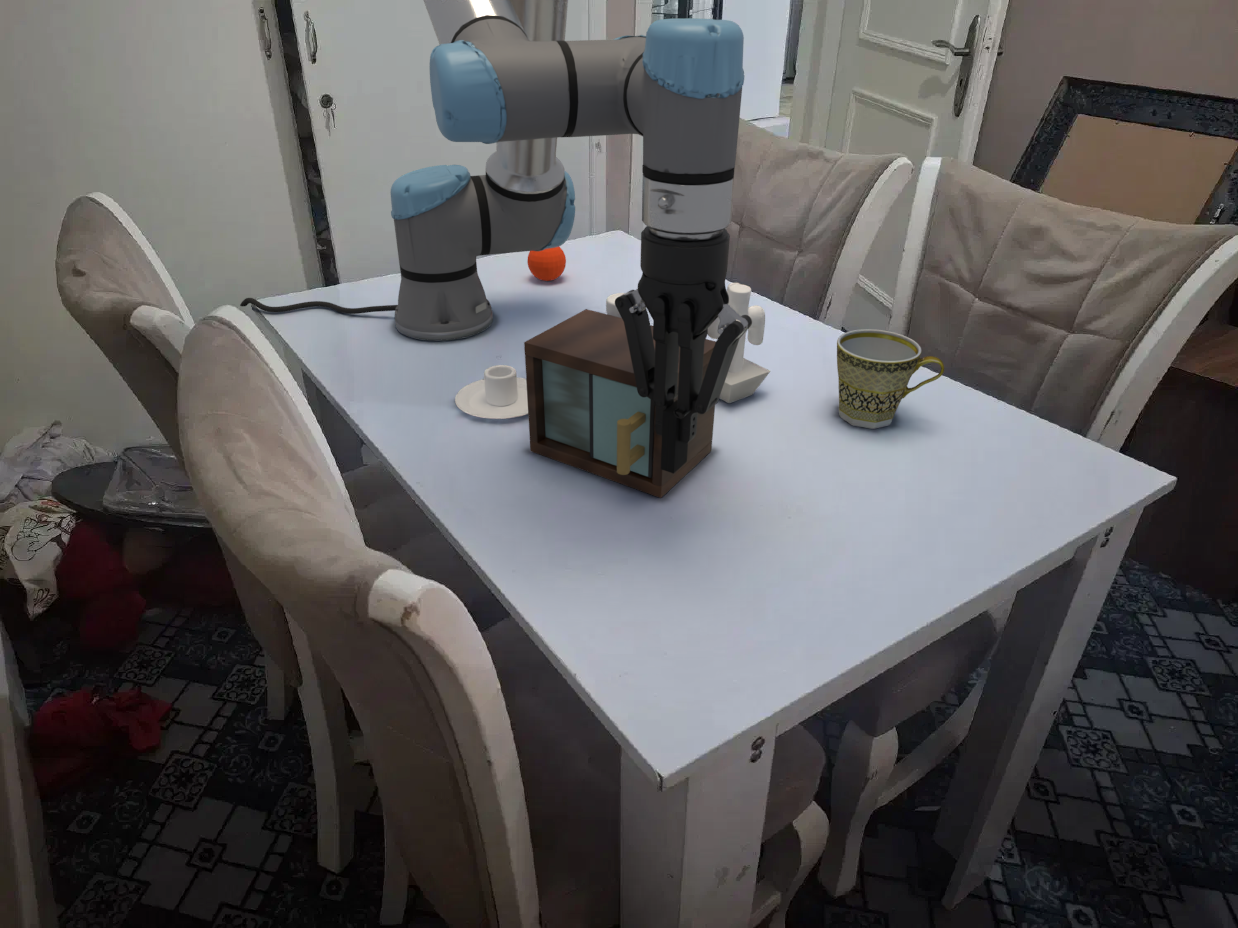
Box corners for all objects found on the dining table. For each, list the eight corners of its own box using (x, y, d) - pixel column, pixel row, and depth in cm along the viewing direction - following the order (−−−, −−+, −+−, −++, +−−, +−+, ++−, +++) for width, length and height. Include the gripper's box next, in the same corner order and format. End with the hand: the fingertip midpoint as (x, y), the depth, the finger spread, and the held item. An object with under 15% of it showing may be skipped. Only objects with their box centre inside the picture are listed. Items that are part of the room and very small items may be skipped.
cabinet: (530, 451, 97) (523, 342, 90) (587, 411, 106) (586, 308, 98) (660, 498, 89) (665, 382, 81) (711, 451, 97) (720, 342, 90)
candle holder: (526, 429, 101) (524, 398, 99) (439, 415, 104) (435, 385, 102) (560, 388, 111) (559, 359, 109) (479, 376, 114) (477, 348, 112)
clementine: (533, 271, 152) (531, 233, 149) (570, 272, 152) (569, 234, 148) (524, 285, 146) (522, 246, 142) (563, 287, 145) (562, 247, 141)
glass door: (568, 473, 90) (565, 388, 84) (593, 454, 93) (592, 371, 88) (631, 496, 86) (633, 409, 80) (655, 475, 89) (658, 390, 84)
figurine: (773, 393, 110) (786, 286, 102) (722, 413, 106) (731, 302, 98) (736, 374, 115) (745, 271, 107) (685, 392, 110) (691, 285, 103)
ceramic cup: (820, 427, 102) (832, 354, 97) (831, 393, 110) (842, 324, 105) (928, 446, 99) (947, 371, 93) (931, 410, 107) (948, 339, 101)
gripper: (596, 225, 69) (598, 462, 82) (736, 252, 63) (715, 503, 76) (642, 207, 74) (637, 432, 87) (775, 229, 69) (749, 467, 81)
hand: (673, 465), depth 81 cm, fingers closed
